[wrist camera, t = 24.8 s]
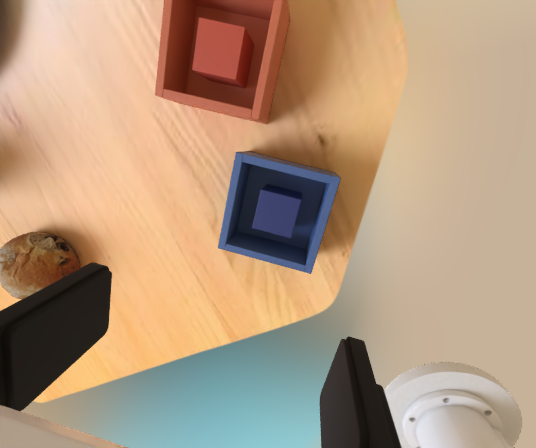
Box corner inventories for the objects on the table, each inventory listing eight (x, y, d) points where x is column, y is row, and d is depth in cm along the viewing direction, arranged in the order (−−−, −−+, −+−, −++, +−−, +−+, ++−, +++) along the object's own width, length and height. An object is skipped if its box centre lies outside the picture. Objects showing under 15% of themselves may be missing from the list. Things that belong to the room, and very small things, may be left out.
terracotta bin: (290, 18, 28) (285, -12, 23) (267, 124, 31) (258, 120, 26) (193, -3, 29) (167, -36, 24) (180, 103, 32) (154, 95, 27)
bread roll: (40, 232, 44) (-26, 256, 38) (58, 217, 38) (-18, 243, 32) (74, 284, 46) (16, 315, 40) (96, 278, 40) (31, 314, 34)
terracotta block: (254, 44, 29) (245, 26, 25) (246, 88, 30) (235, 79, 26) (214, 35, 29) (198, 16, 25) (208, 80, 31) (192, 69, 26)
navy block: (302, 192, 32) (301, 199, 28) (293, 227, 34) (291, 238, 30) (266, 183, 33) (260, 189, 29) (258, 218, 34) (251, 228, 30)
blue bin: (335, 172, 32) (340, 178, 26) (310, 254, 35) (310, 274, 30) (247, 151, 33) (235, 151, 27) (231, 233, 36) (217, 248, 30)
